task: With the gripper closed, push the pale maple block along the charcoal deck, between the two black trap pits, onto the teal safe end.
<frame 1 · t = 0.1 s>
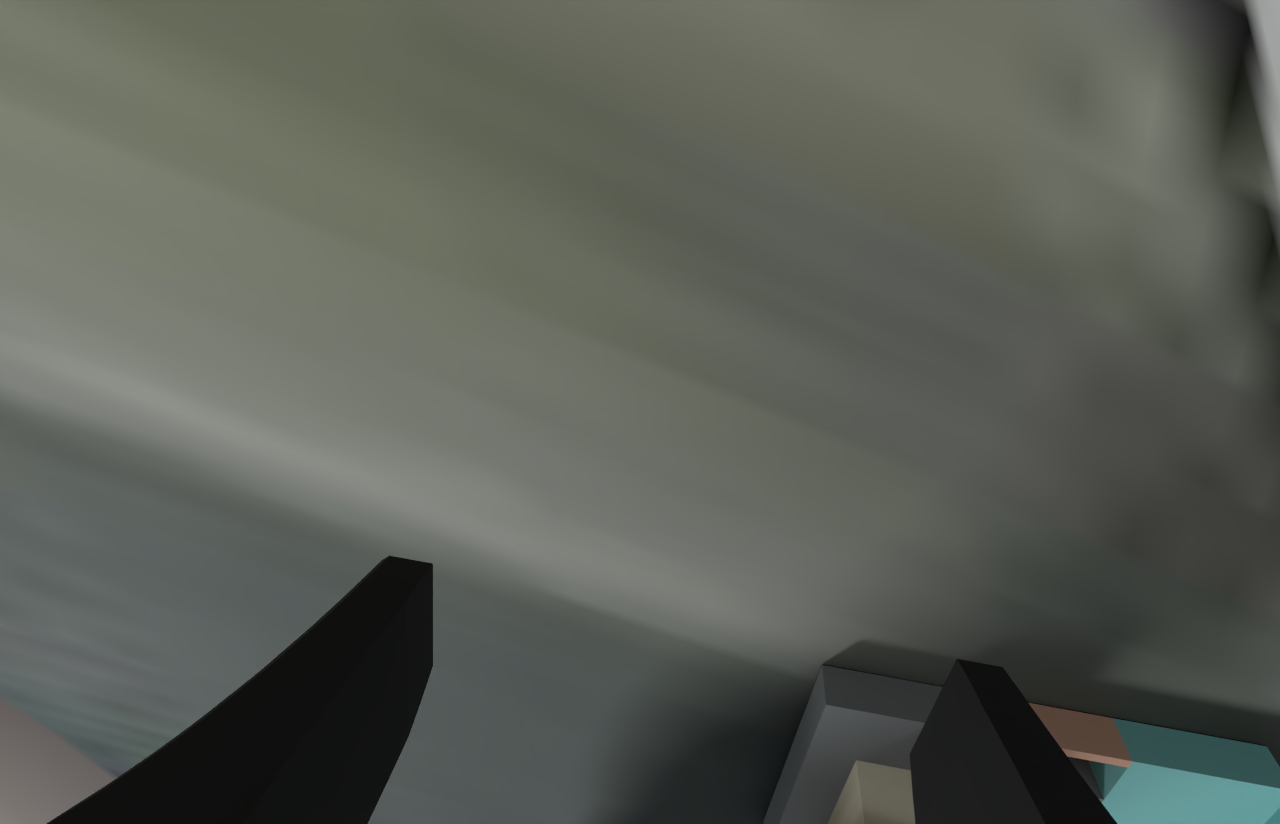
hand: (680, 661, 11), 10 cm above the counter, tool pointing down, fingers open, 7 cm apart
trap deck: (997, 787, 27), on the counter
maple block: (900, 810, 26), point 1 cm above the counter, touching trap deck
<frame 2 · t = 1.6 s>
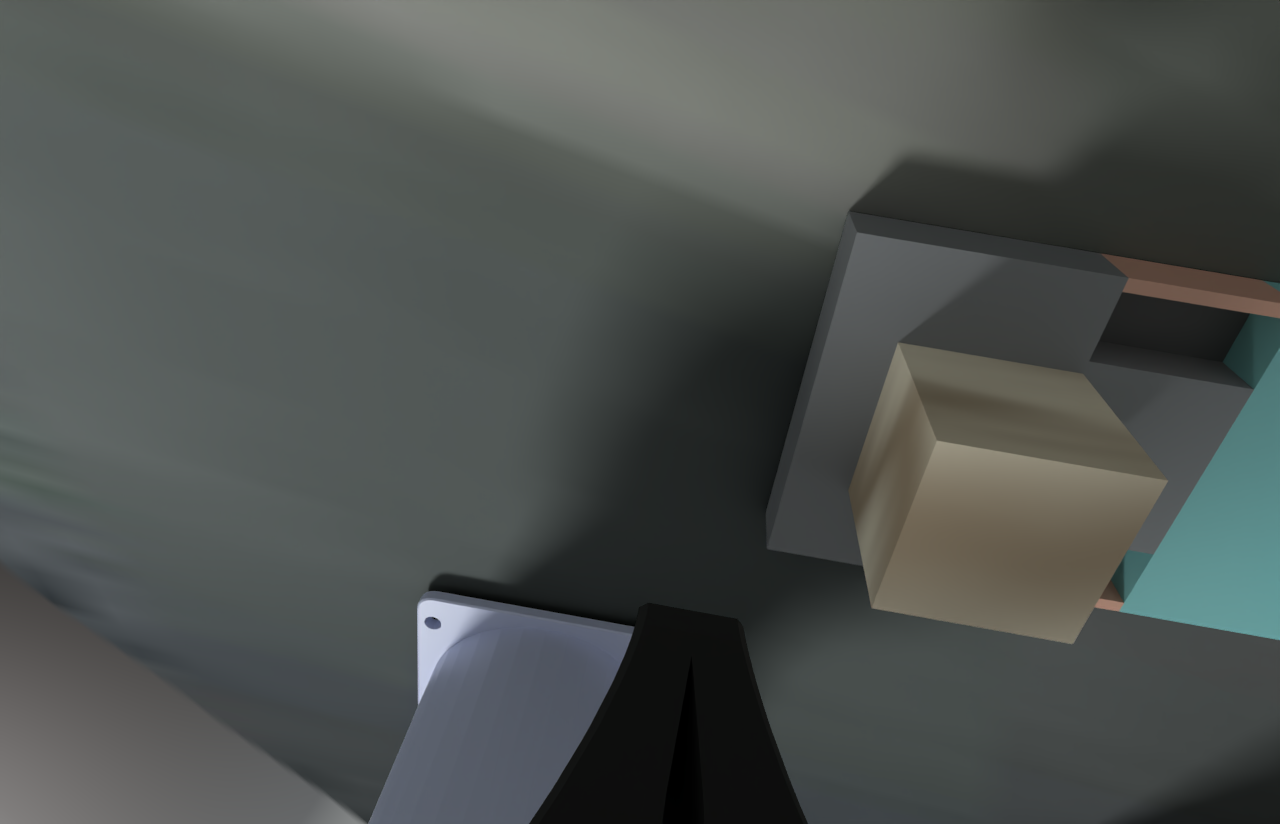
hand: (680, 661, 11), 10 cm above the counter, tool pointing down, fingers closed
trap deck: (1087, 427, 20), on the counter
maple block: (958, 435, 18), point 1 cm above the counter, touching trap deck
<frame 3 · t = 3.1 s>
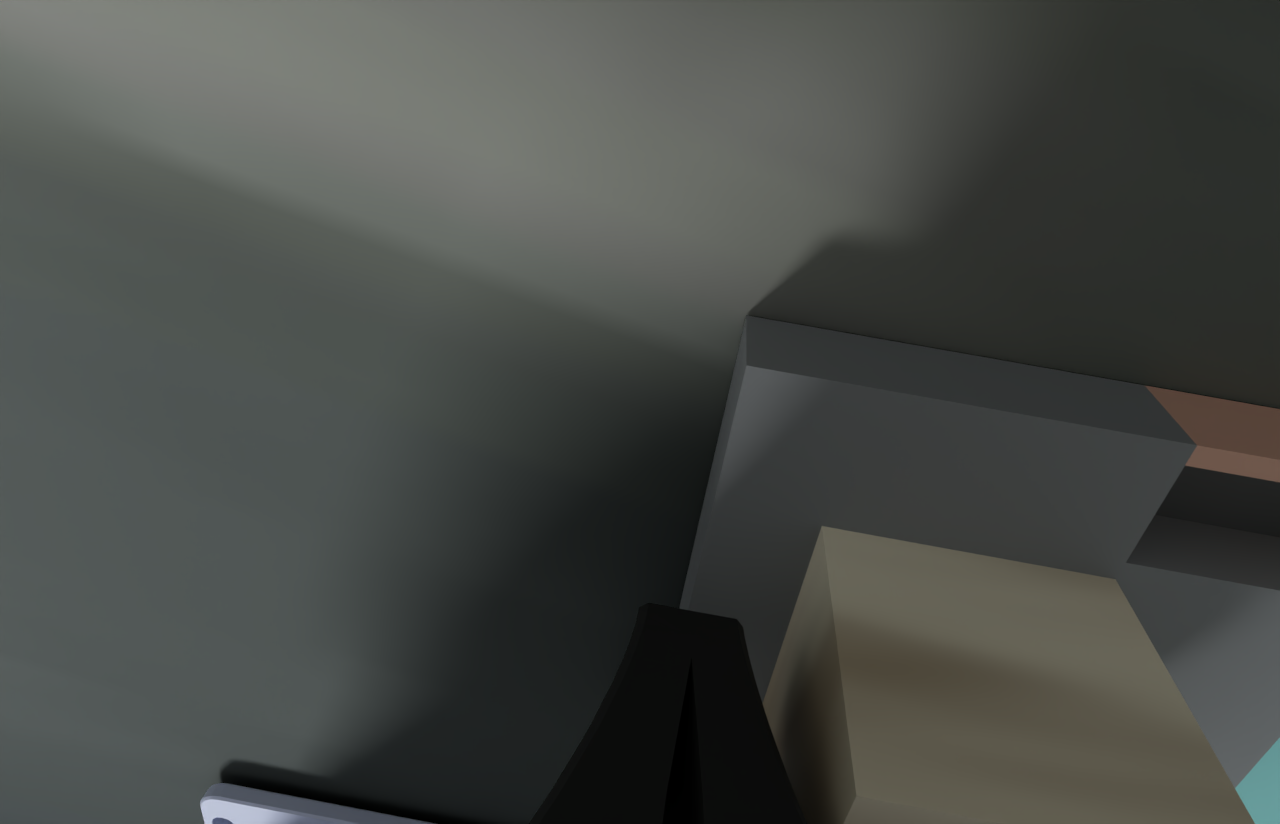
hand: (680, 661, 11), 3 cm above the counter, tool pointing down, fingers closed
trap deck: (1116, 622, 13), on the counter
maple block: (920, 653, 12), point 1 cm above the counter, touching gripper, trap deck
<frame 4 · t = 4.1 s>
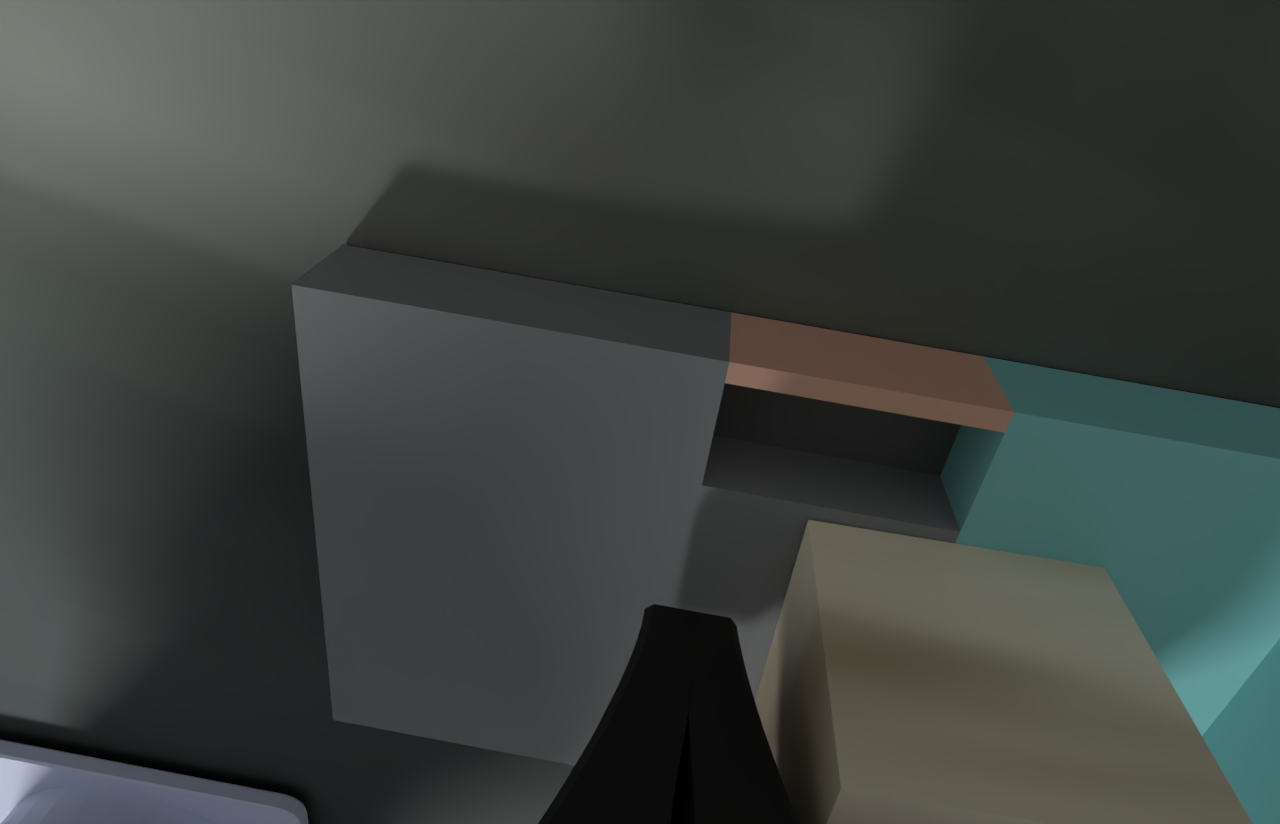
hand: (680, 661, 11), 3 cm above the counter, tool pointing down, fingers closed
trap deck: (770, 558, 13), on the counter
maple block: (911, 646, 12), point 2 cm above the counter, touching gripper, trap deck
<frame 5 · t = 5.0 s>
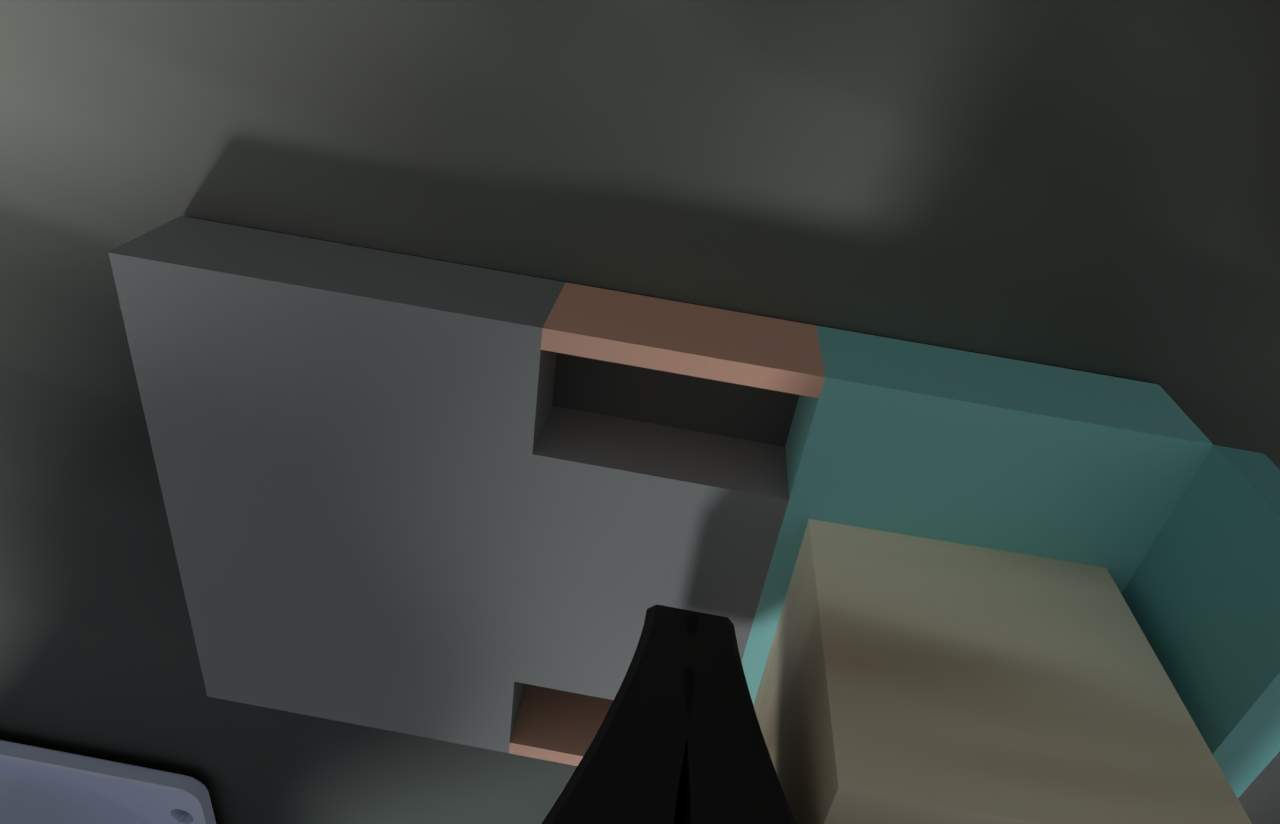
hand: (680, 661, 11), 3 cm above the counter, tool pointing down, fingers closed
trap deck: (633, 533, 13), on the counter
maple block: (912, 646, 12), point 2 cm above the counter, touching gripper, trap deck
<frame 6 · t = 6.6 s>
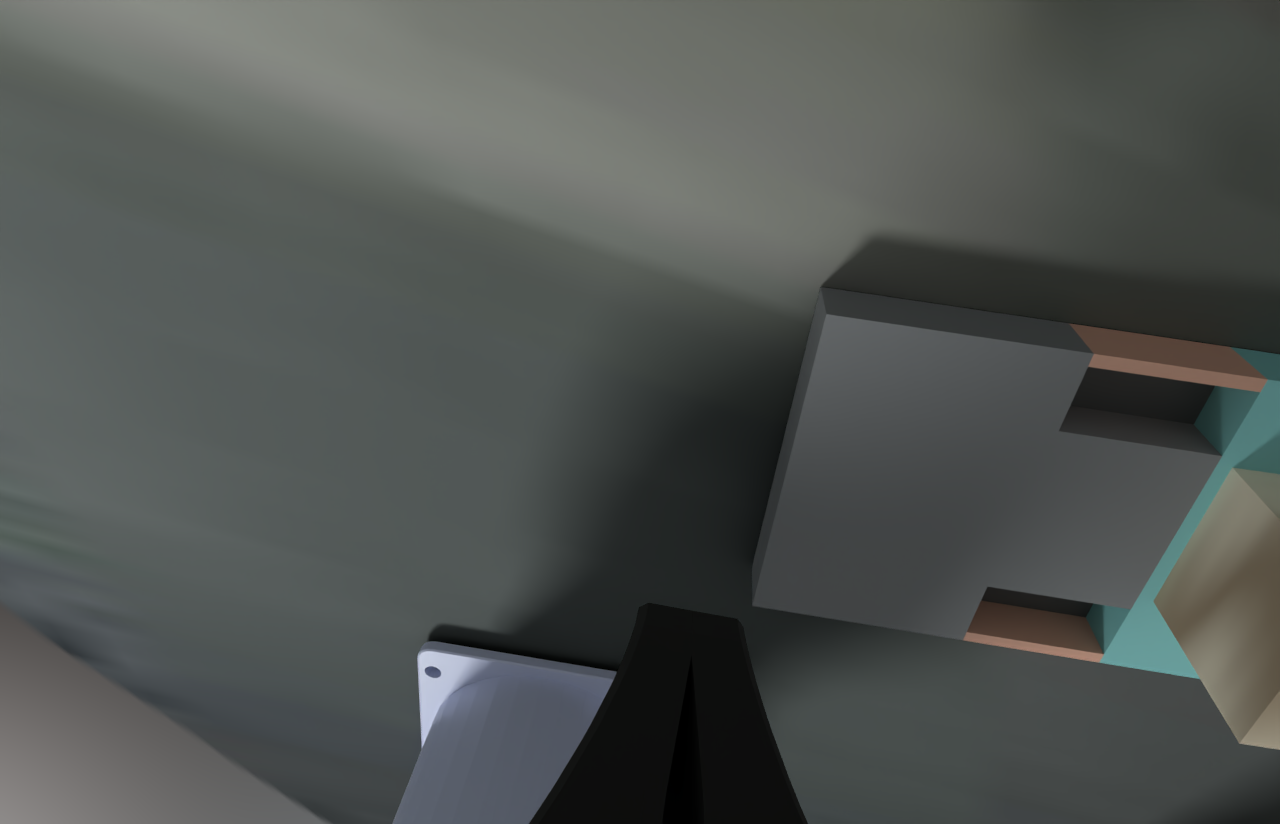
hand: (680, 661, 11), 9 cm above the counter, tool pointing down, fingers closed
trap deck: (1064, 485, 20), on the counter
maple block: (1279, 551, 18), point 1 cm above the counter, touching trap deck
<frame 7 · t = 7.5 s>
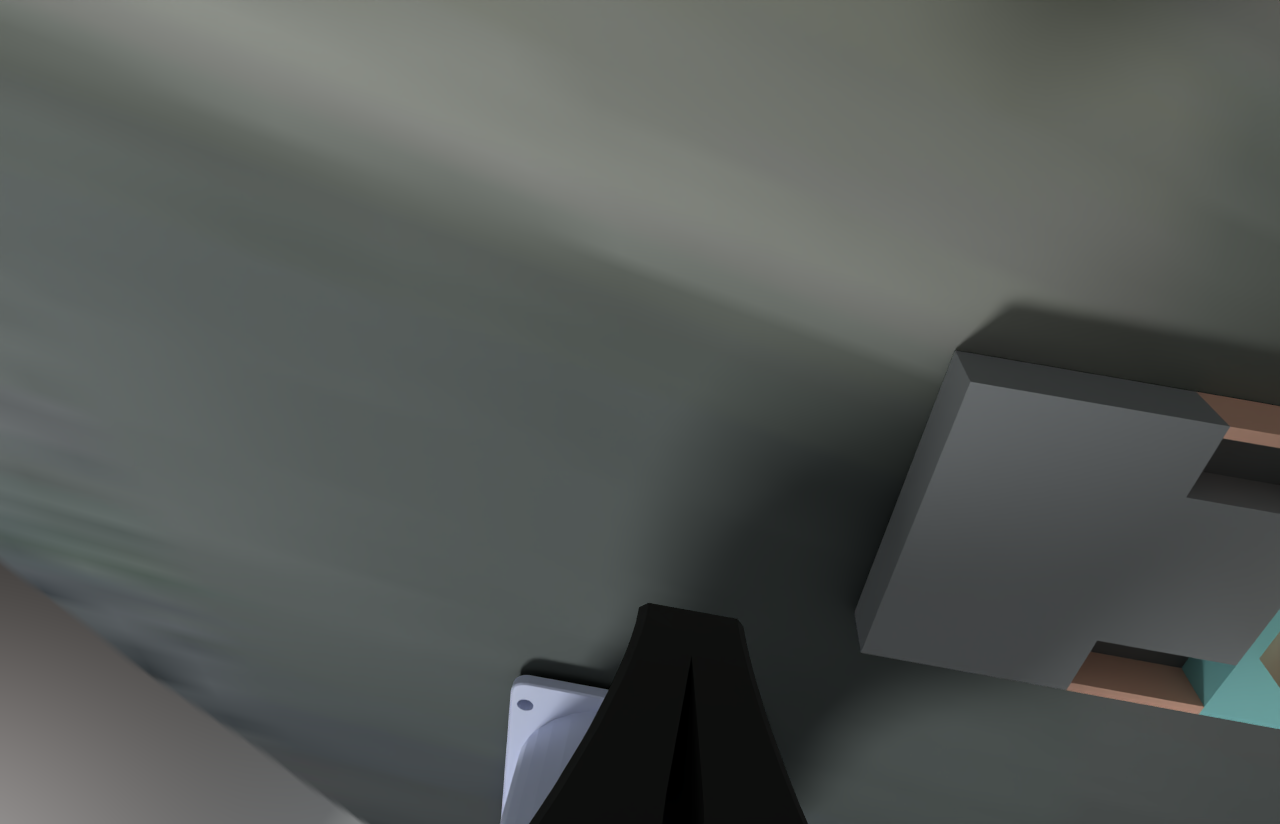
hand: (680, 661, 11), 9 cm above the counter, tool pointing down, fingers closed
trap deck: (1173, 543, 20), on the counter
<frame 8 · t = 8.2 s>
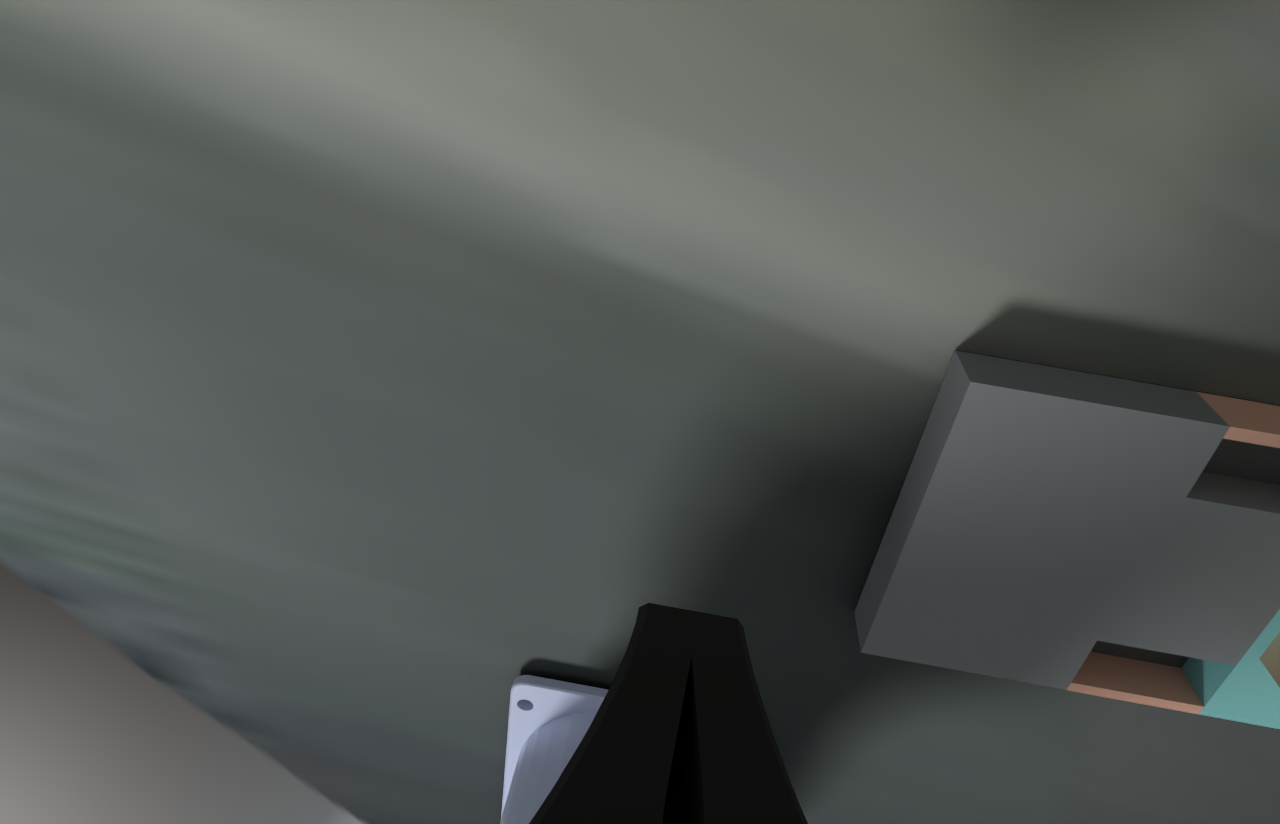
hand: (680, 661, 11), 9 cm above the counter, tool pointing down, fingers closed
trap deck: (1173, 543, 20), on the counter
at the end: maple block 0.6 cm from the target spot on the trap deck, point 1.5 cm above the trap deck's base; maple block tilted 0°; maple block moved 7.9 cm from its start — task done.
